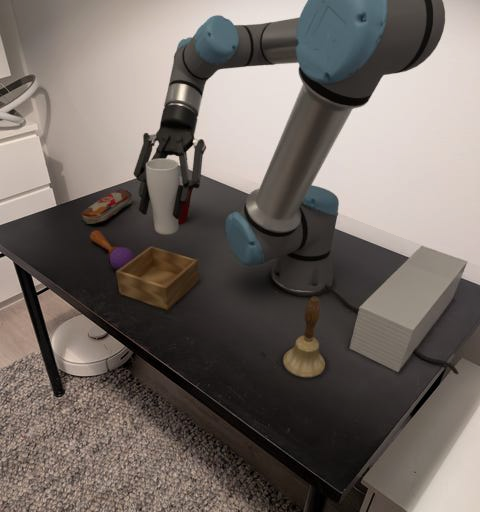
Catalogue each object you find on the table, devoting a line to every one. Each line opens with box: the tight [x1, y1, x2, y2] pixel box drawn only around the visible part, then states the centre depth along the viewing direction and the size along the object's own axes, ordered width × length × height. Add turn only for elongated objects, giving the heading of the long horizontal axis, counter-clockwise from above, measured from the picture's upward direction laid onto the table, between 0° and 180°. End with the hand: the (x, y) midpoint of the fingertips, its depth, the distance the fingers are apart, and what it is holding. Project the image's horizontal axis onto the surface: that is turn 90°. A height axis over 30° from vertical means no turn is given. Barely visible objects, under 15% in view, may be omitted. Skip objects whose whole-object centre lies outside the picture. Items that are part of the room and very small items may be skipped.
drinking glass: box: [146, 158, 180, 236], centre depth 97 cm, size 7×7×15 cm
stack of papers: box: [349, 245, 468, 373], centre depth 98 cm, size 32×11×11 cm, turn 141°
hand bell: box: [282, 296, 326, 379], centre depth 85 cm, size 8×8×16 cm
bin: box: [115, 245, 199, 311], centre depth 106 cm, size 13×13×6 cm
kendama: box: [89, 230, 135, 271], centre depth 117 cm, size 6×6×20 cm
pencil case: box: [80, 188, 133, 225], centre depth 136 cm, size 11×20×5 cm, turn 145°
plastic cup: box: [178, 175, 194, 225], centre depth 133 cm, size 11×11×12 cm
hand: (159, 214), depth 96 cm, fingers closed on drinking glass, 7 cm apart
